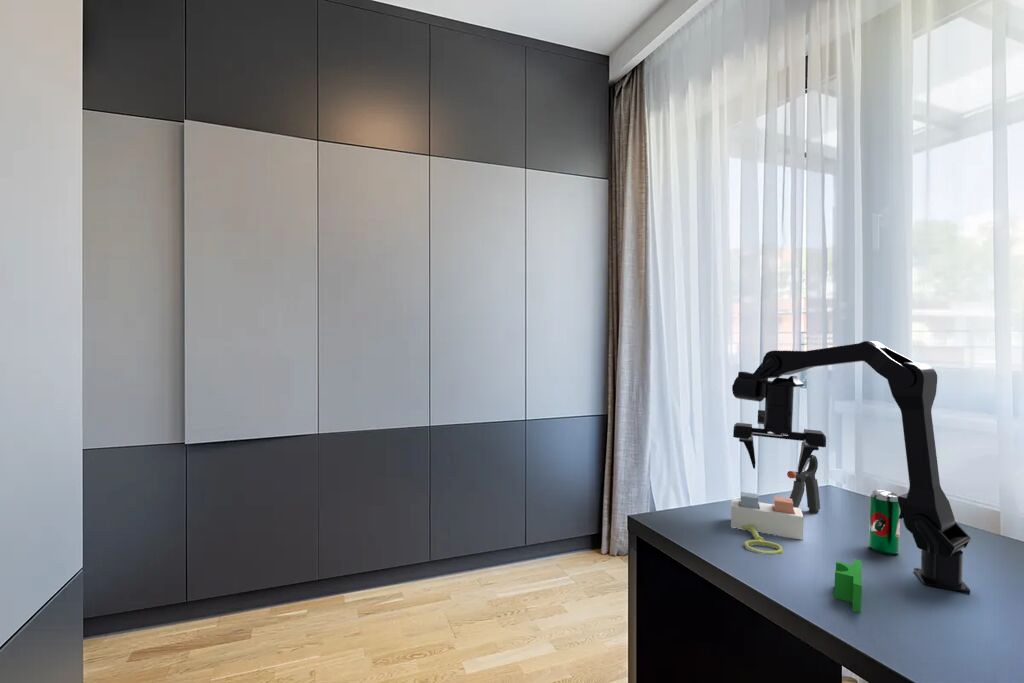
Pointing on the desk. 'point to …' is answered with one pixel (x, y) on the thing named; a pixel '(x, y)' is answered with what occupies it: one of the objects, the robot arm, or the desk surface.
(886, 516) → the soda can
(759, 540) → the key
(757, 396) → the robot arm
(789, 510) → the orange button
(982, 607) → the desk surface
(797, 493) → the hand grip strengthener
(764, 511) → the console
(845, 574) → the pipe clamp
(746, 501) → the grey button
